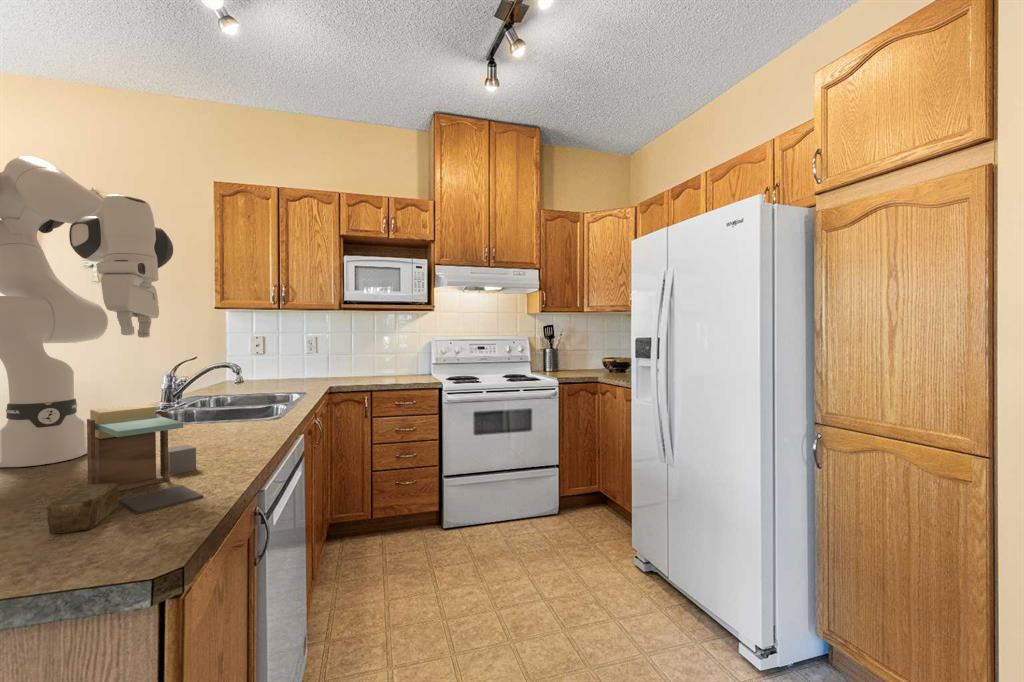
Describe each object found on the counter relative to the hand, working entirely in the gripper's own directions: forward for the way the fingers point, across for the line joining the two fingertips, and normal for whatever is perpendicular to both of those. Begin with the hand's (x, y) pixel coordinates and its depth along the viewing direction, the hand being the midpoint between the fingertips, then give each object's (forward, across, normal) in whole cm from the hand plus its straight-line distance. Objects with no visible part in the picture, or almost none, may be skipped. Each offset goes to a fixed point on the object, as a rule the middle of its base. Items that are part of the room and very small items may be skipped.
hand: (136, 336), depth 100 cm
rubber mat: (+32, +17, +7) cm, 36 cm away
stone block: (+32, +23, -2) cm, 40 cm away
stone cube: (+30, -4, +5) cm, 31 cm away
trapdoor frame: (+30, +4, -2) cm, 31 cm away
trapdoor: (+20, +9, +1) cm, 22 cm away
